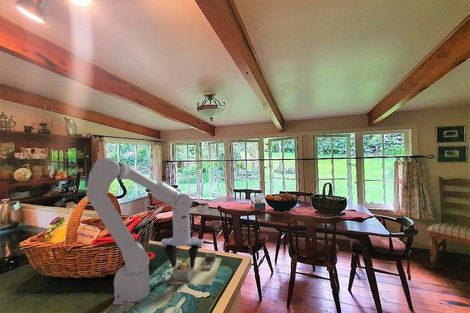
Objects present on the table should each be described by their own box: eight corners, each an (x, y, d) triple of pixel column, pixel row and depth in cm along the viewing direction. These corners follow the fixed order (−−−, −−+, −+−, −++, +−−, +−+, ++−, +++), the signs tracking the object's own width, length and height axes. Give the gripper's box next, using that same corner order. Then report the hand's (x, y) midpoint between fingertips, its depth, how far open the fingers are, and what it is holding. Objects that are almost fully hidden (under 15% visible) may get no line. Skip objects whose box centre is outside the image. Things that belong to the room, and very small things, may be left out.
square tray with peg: (171, 281, 74) (170, 267, 74) (178, 271, 80) (177, 258, 80) (189, 282, 73) (188, 268, 73) (195, 271, 79) (194, 259, 79)
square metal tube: (172, 279, 74) (172, 271, 74) (179, 270, 80) (178, 262, 80) (188, 280, 73) (188, 271, 73) (194, 271, 79) (193, 263, 79)
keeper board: (170, 286, 73) (169, 276, 73) (188, 259, 91) (188, 251, 91) (211, 287, 71) (211, 277, 71) (222, 260, 89) (221, 252, 89)
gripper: (205, 223, 79) (206, 261, 79) (166, 223, 81) (168, 260, 81) (199, 230, 72) (201, 271, 72) (157, 230, 74) (159, 270, 74)
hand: (183, 266), depth 76 cm, fingers open, 6 cm apart
